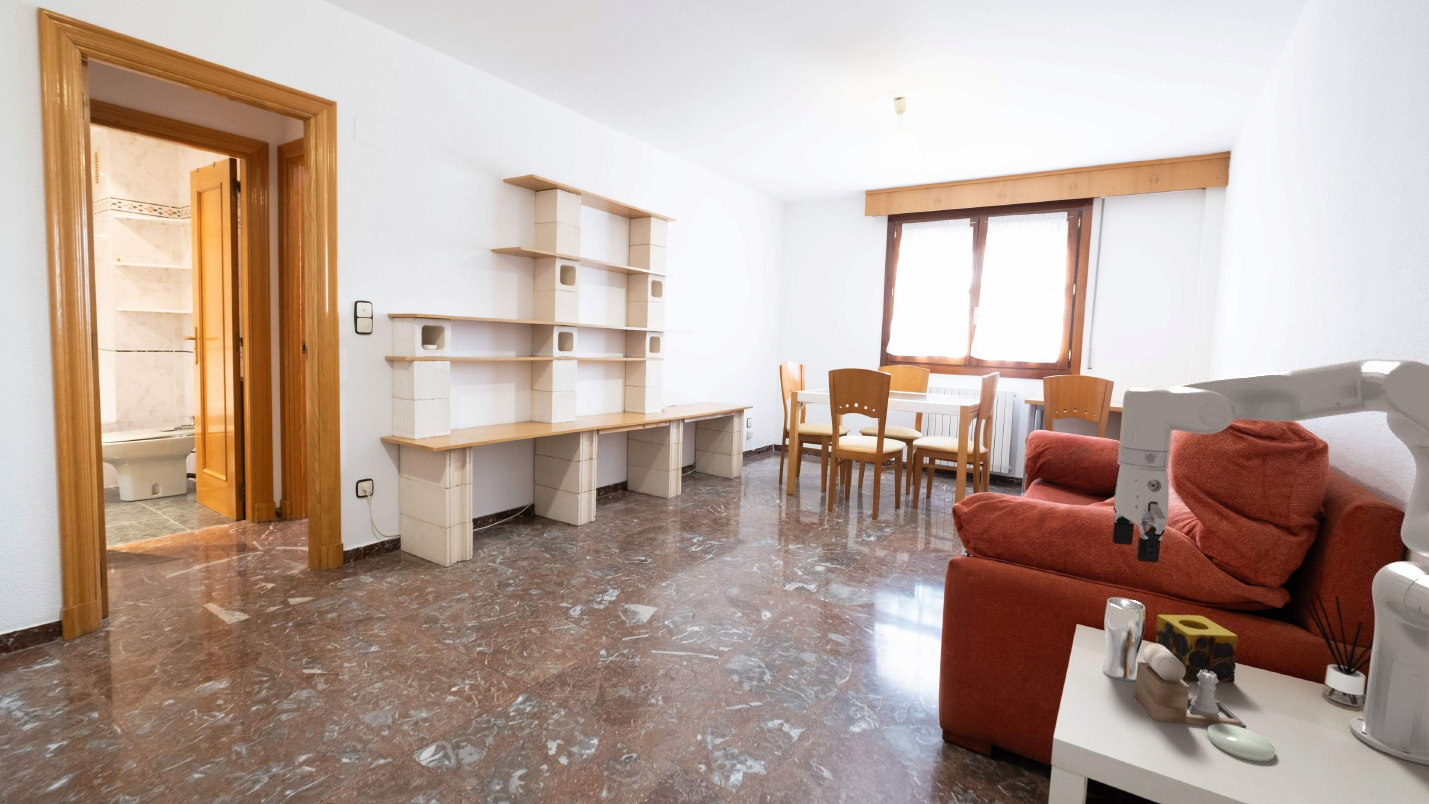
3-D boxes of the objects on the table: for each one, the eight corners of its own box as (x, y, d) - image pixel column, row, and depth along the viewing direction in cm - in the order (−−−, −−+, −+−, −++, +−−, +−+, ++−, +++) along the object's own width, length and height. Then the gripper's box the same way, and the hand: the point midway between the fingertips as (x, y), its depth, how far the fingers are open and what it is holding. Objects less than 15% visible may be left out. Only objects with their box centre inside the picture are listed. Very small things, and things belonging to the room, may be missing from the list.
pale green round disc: (1252, 732, 116) (1253, 726, 116) (1288, 764, 107) (1288, 759, 107) (1196, 726, 117) (1196, 720, 117) (1226, 757, 109) (1227, 752, 108)
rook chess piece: (1220, 724, 118) (1224, 681, 117) (1189, 716, 120) (1194, 674, 120) (1217, 712, 122) (1221, 671, 121) (1188, 705, 124) (1192, 664, 123)
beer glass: (1146, 684, 131) (1152, 612, 130) (1107, 680, 133) (1113, 608, 131) (1131, 667, 138) (1137, 598, 137) (1095, 663, 140) (1101, 595, 138)
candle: (1235, 683, 133) (1240, 636, 132) (1185, 682, 133) (1189, 635, 132) (1199, 659, 143) (1203, 614, 142) (1152, 657, 143) (1156, 613, 142)
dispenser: (1220, 705, 124) (1226, 647, 123) (1246, 730, 116) (1253, 668, 115) (1134, 696, 127) (1139, 639, 126) (1155, 720, 119) (1160, 660, 118)
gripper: (1193, 468, 107) (1183, 570, 109) (1143, 450, 124) (1134, 539, 126) (1143, 466, 108) (1133, 567, 110) (1100, 448, 125) (1092, 536, 127)
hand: (1134, 552), depth 118 cm, fingers open, 9 cm apart
